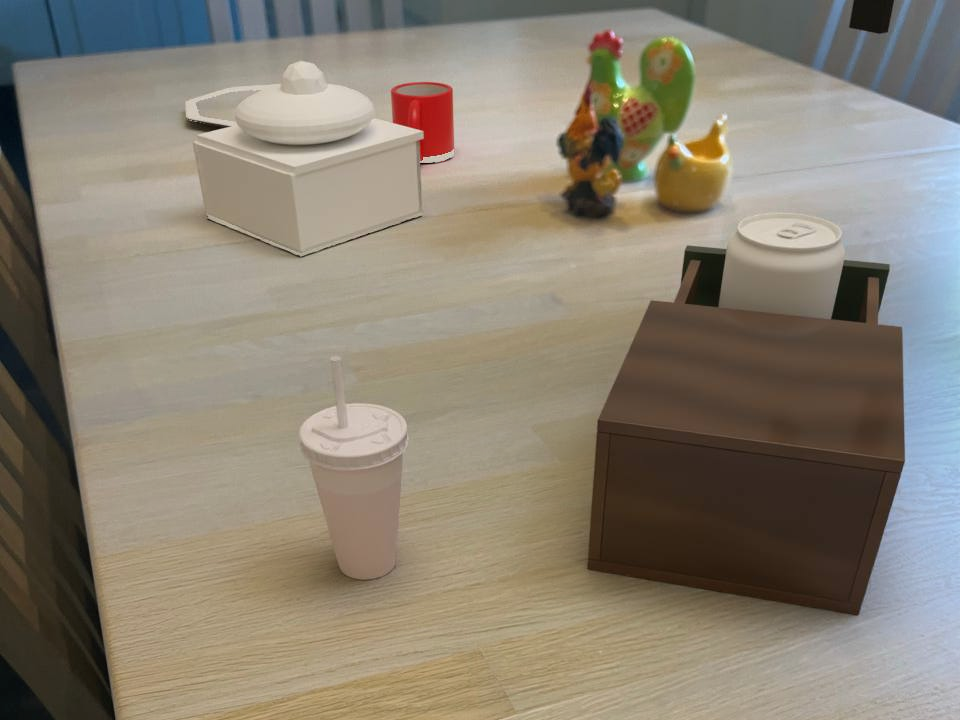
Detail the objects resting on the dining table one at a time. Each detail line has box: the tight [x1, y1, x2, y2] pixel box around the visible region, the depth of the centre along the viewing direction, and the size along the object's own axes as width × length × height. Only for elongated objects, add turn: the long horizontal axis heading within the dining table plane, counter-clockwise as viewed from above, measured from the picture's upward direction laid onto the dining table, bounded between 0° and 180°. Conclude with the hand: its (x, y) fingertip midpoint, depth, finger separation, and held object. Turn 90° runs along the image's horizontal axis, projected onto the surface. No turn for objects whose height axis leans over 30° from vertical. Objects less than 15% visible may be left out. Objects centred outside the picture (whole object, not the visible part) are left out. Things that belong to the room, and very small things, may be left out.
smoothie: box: [298, 355, 410, 581], centre depth 61 cm, size 6×6×14 cm
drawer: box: [673, 245, 891, 324], centre depth 78 cm, size 22×15×9 cm
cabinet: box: [586, 300, 906, 616], centre depth 65 cm, size 18×17×11 cm
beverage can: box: [718, 212, 846, 319], centre depth 74 cm, size 8×8×12 cm
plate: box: [184, 83, 281, 128], centre depth 150 cm, size 24×24×2 cm
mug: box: [390, 81, 455, 161], centre depth 129 cm, size 8×12×8 cm, turn 176°
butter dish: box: [192, 60, 424, 253], centre depth 110 cm, size 18×18×16 cm
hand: (928, 19), depth 69 cm, fingers open, 10 cm apart
